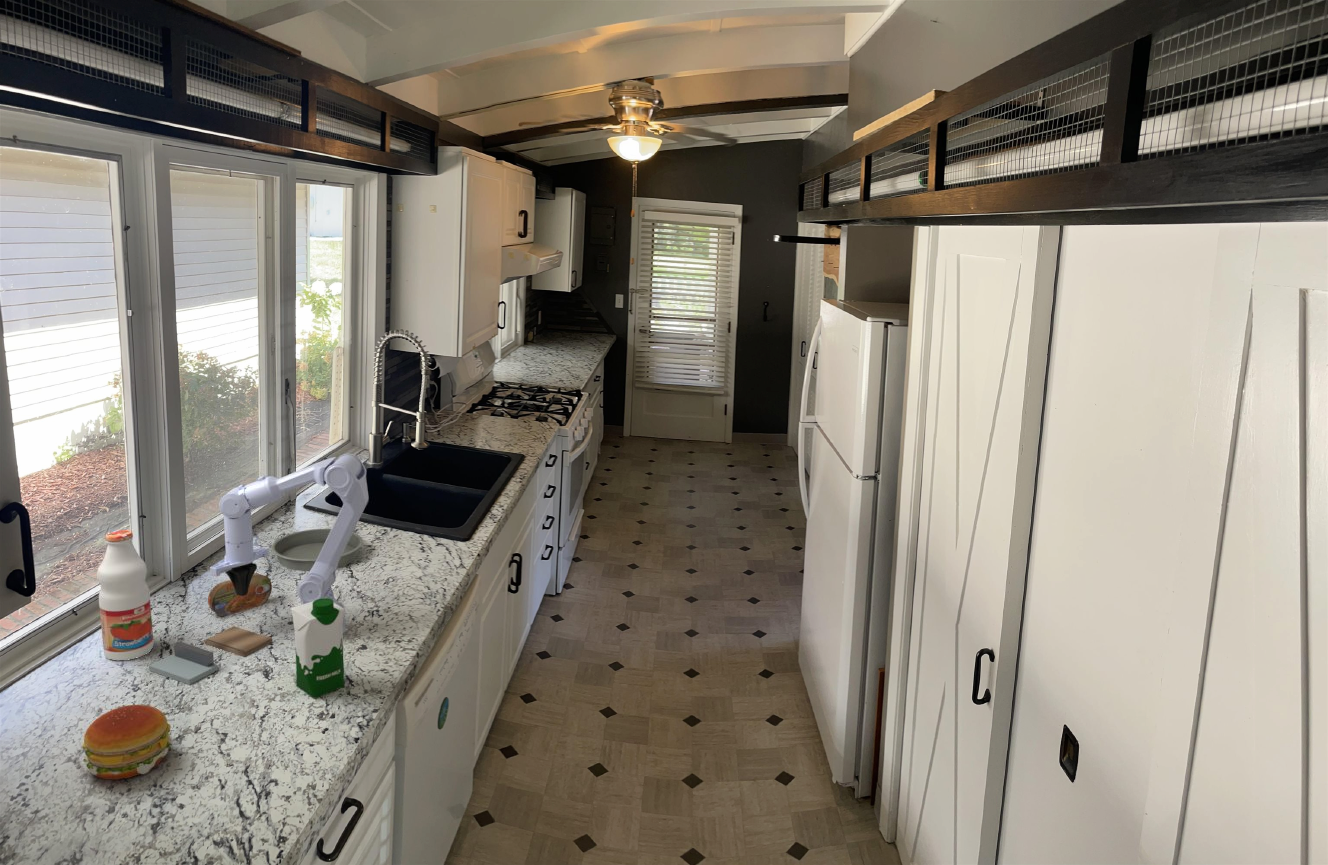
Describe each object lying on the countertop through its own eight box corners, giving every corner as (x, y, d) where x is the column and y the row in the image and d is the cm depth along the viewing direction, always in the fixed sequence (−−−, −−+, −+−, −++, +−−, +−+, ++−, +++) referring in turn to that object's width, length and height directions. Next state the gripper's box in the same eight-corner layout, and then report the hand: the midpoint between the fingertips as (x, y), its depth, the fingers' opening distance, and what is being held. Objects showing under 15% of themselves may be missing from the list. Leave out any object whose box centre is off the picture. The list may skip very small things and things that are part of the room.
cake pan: (252, 565, 239) (251, 550, 238) (311, 537, 262) (311, 523, 261) (326, 580, 232) (325, 565, 231) (380, 550, 255) (380, 536, 254)
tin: (213, 620, 205) (211, 588, 203) (206, 616, 207) (204, 584, 205) (273, 602, 217) (271, 571, 215) (266, 598, 219) (265, 567, 217)
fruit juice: (138, 637, 195) (128, 522, 188) (163, 649, 190) (153, 532, 184) (95, 654, 187) (83, 534, 180) (119, 666, 182) (107, 544, 176)
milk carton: (311, 702, 174) (308, 612, 169) (289, 685, 180) (285, 598, 175) (350, 686, 181) (348, 599, 176) (328, 670, 186) (325, 586, 182)
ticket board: (272, 642, 197) (272, 637, 196) (243, 657, 189) (243, 652, 189) (234, 630, 201) (233, 625, 201) (204, 644, 194) (204, 639, 193)
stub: (218, 669, 183) (217, 653, 182) (189, 684, 177) (188, 667, 176) (178, 656, 188) (177, 639, 187) (149, 670, 181) (147, 653, 180)
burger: (72, 763, 151) (67, 712, 149) (155, 731, 161) (151, 683, 159) (102, 796, 143) (97, 744, 141) (187, 761, 153) (183, 711, 151)
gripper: (251, 527, 204) (254, 579, 207) (198, 546, 191) (202, 601, 194) (274, 532, 201) (276, 586, 204) (221, 552, 188) (225, 608, 191)
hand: (241, 594), depth 199 cm, fingers closed
